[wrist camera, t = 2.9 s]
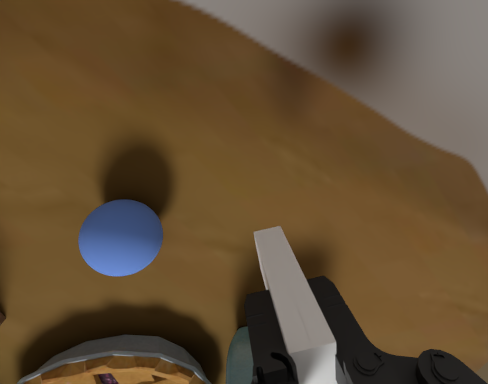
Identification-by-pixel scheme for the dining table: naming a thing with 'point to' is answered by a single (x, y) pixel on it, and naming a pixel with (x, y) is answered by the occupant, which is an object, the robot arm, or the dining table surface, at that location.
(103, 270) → the ball
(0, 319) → the bridge
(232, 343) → the flower pot
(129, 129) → the dining table surface
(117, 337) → the pie
